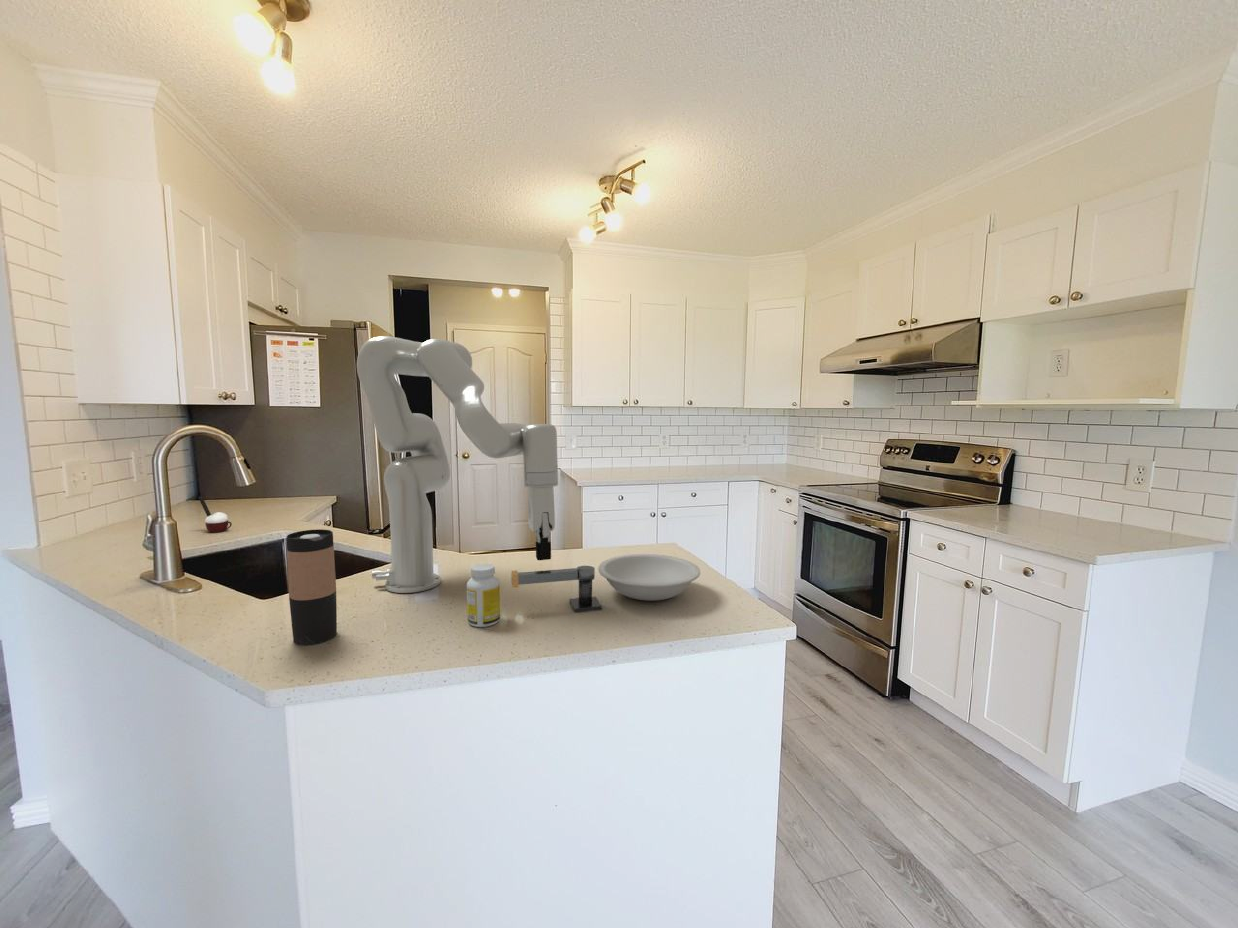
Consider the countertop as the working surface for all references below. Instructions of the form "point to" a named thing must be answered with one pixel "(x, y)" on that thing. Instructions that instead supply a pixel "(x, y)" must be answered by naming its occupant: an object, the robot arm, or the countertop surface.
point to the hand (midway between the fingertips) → (543, 558)
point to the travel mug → (312, 586)
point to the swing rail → (553, 575)
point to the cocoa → (215, 520)
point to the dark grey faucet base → (585, 598)
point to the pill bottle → (483, 596)
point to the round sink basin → (649, 575)
